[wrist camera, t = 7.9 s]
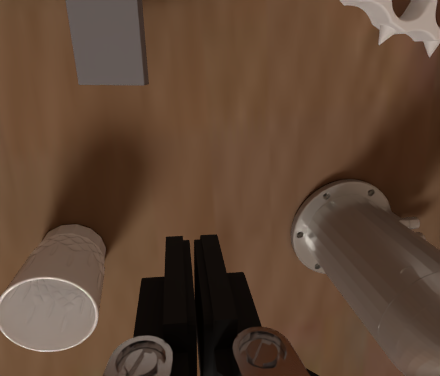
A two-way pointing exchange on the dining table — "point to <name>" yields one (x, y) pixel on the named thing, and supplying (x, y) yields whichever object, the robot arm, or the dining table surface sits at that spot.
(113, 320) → the dining table surface
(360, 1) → the white compartment tray
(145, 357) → the robot arm
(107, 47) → the tipping tray
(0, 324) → the white cup
